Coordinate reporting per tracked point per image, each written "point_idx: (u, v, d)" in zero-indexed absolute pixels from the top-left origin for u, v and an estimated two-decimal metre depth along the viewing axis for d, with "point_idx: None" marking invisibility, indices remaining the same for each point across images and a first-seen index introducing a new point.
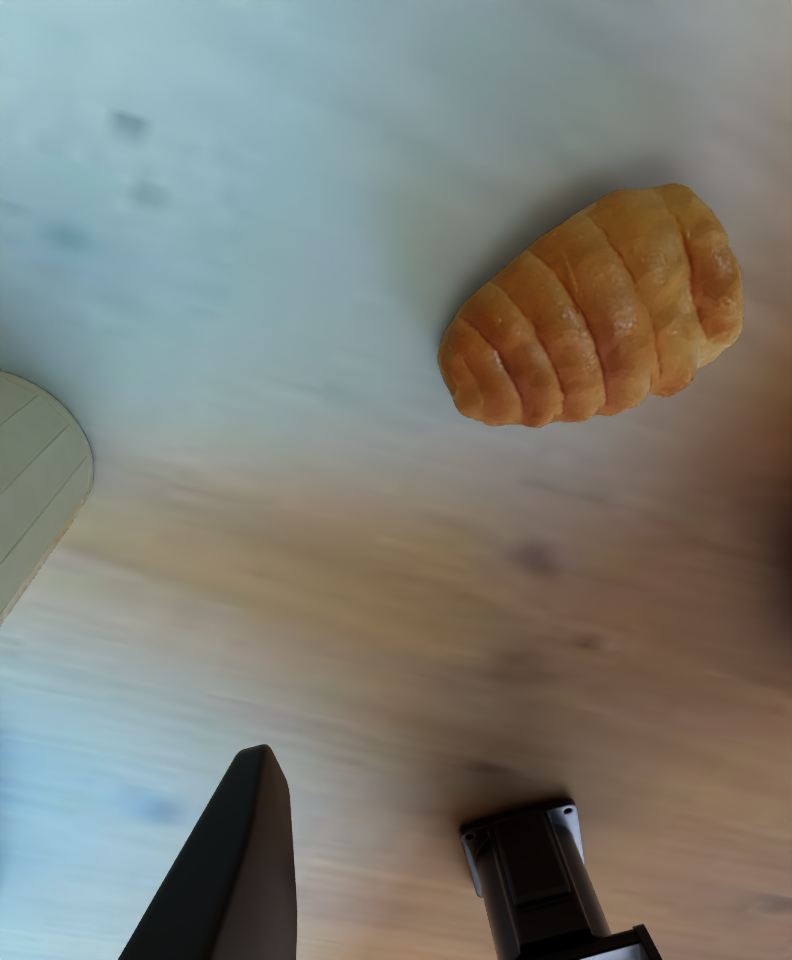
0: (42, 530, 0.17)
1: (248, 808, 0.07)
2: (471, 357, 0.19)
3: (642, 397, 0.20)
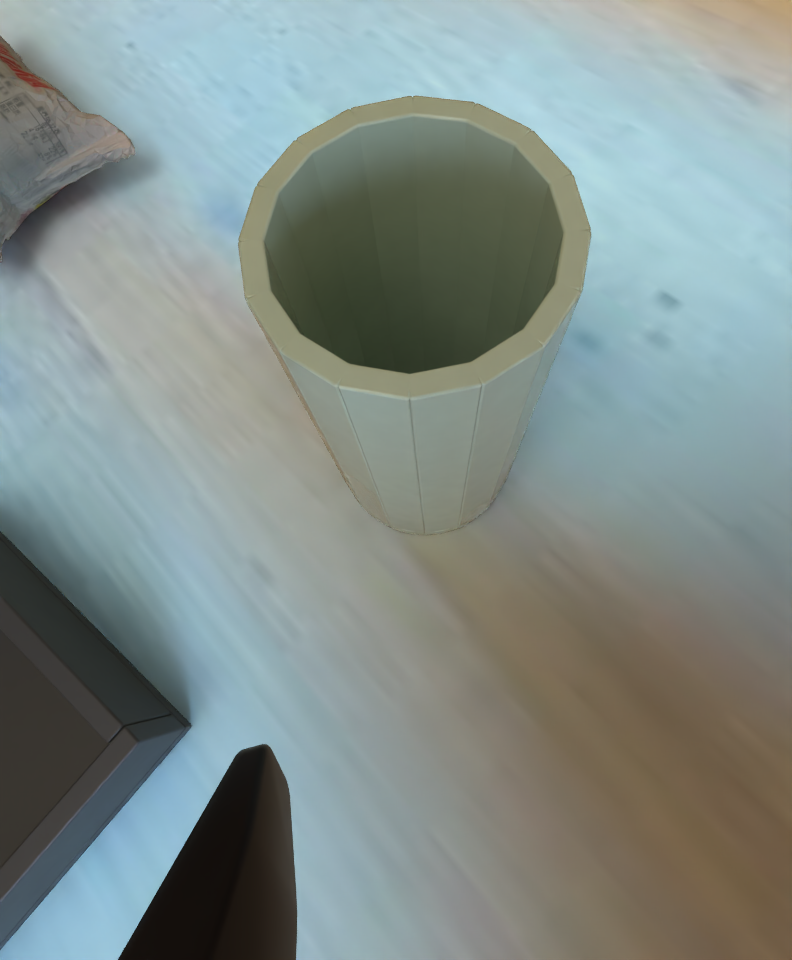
0: (511, 459, 0.19)
1: (248, 808, 0.07)
2: None
3: None
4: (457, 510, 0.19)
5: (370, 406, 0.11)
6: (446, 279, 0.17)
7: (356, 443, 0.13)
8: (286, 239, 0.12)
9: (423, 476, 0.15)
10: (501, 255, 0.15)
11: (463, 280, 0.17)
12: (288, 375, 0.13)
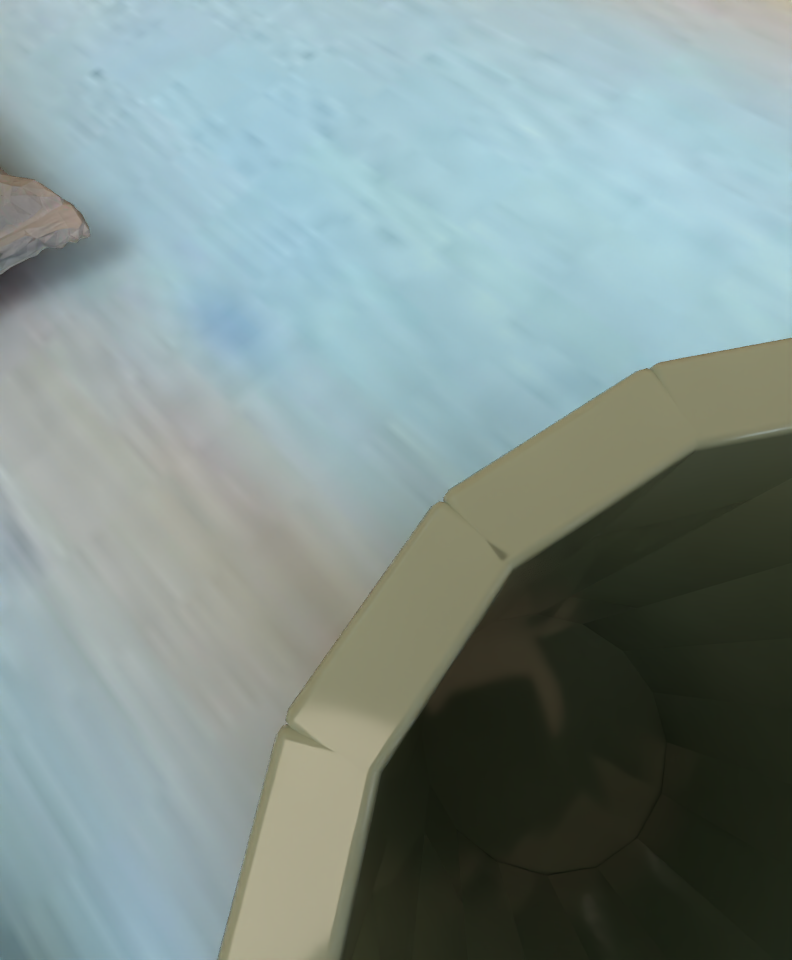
0: None
1: None
2: None
3: None
4: None
5: None
6: (676, 583, 0.08)
7: None
8: (383, 810, 0.03)
9: None
10: None
11: (721, 596, 0.08)
12: None
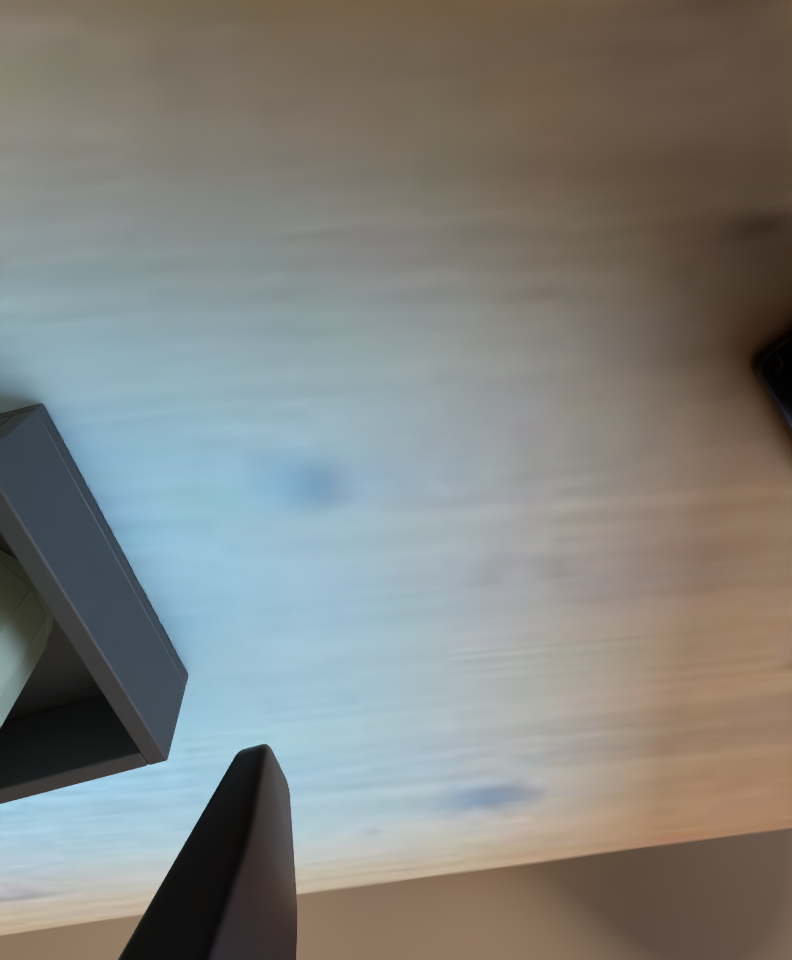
0: None
1: (248, 808, 0.07)
2: None
3: None
4: None
5: None
6: None
7: None
8: None
9: None
10: None
11: None
12: None
